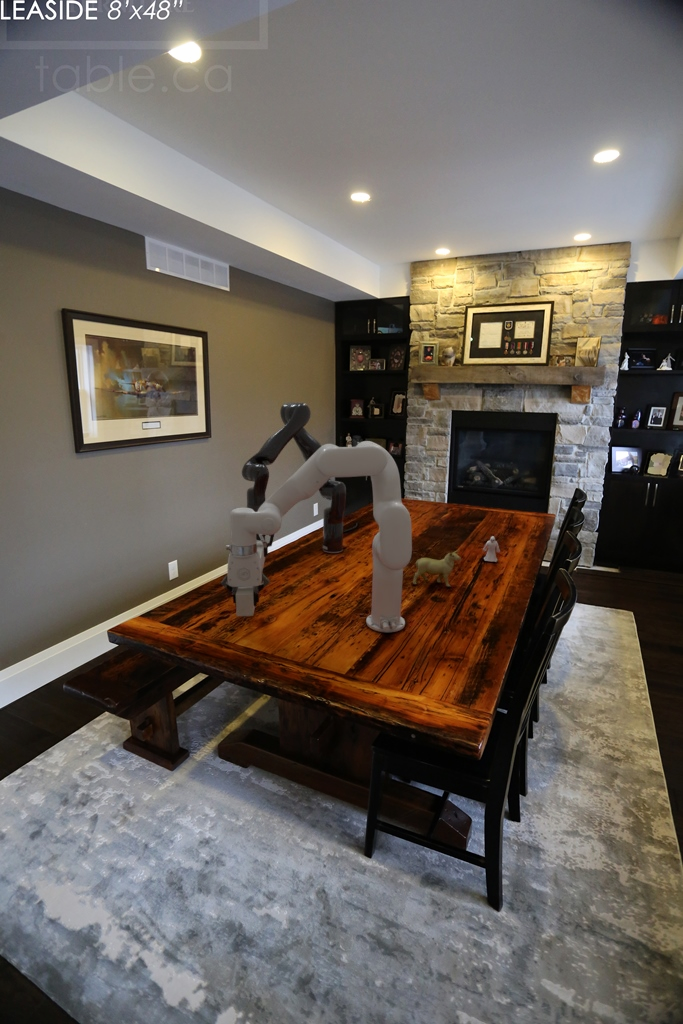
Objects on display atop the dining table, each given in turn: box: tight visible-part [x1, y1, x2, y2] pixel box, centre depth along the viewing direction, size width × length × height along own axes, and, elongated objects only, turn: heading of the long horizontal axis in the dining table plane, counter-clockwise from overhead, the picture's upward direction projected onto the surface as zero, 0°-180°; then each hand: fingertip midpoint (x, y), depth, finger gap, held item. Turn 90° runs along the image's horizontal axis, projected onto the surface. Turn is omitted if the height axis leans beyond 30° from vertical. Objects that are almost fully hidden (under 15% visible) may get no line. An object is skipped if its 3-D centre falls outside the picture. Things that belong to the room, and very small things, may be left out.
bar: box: [235, 541, 266, 617], centre depth 175 cm, size 52×5×7 cm, turn 4°
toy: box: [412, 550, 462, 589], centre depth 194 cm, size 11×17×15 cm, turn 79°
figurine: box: [482, 535, 501, 563], centre depth 223 cm, size 8×8×12 cm
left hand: (257, 556), depth 196 cm, fingers closed on bar, 5 cm apart
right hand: (246, 604), depth 155 cm, fingers closed on bar, 5 cm apart
